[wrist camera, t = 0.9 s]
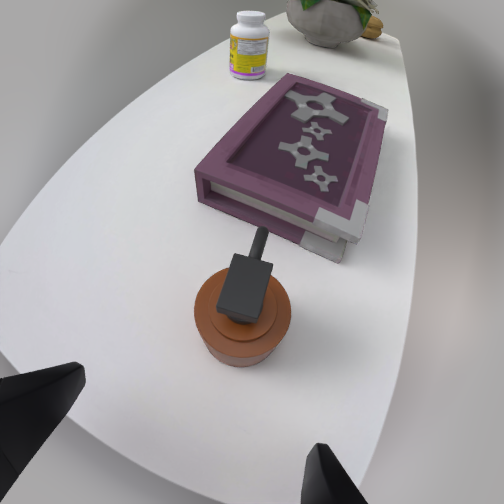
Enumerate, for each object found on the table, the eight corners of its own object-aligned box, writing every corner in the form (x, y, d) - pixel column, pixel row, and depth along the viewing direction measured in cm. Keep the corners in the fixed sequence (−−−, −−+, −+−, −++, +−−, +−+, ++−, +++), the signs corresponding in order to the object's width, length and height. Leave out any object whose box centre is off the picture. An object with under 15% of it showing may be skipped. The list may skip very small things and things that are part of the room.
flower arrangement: (365, 70, 52) (390, -16, 31) (263, 43, 55) (272, -43, 34) (365, 46, 64) (383, -19, 43) (287, 24, 67) (296, -40, 45)
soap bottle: (267, 375, 22) (281, 367, 16) (192, 353, 22) (176, 335, 16) (285, 306, 25) (304, 271, 19) (216, 286, 26) (211, 245, 19)
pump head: (255, 327, 15) (258, 319, 14) (217, 316, 16) (215, 306, 14) (278, 244, 18) (283, 228, 16) (245, 234, 18) (246, 218, 17)
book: (341, 265, 27) (360, 238, 23) (197, 202, 30) (193, 169, 26) (377, 134, 39) (388, 109, 35) (283, 97, 41) (287, 72, 37)
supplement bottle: (234, 65, 47) (236, 8, 36) (267, 69, 47) (274, 11, 36) (225, 78, 44) (226, 15, 33) (261, 83, 44) (268, 18, 32)
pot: (350, 35, 68) (356, 11, 60) (344, 27, 74) (349, 5, 65) (383, 45, 68) (390, 22, 60) (374, 35, 74) (380, 14, 65)
